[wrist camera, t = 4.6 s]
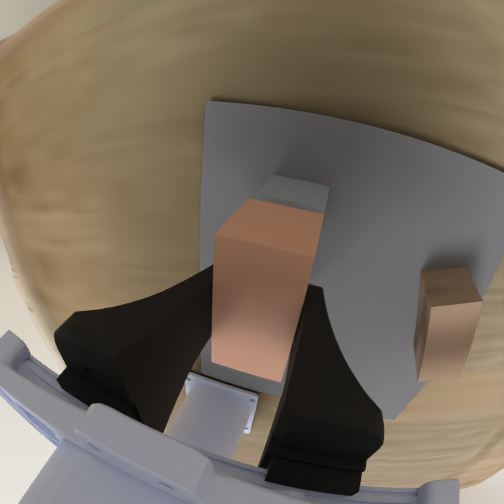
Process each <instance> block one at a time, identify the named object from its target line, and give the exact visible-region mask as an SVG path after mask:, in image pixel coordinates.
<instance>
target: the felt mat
mask: <svg viewBox="0 0 504 504" xmlns="http://www.w3.org/2000/svg"><path fill="white" fill-rule="evenodd" d="M273 175H278V176H283V177H288V178H293V179H298V180H303V181H307V182H312V183H317V184H321V185H326V186H330V188H329V193H328V198H327V203H326V208H325V213H324V218H323V223H322V227H321V232H320V237H319V241H318V246H317V250H316V255H315V259H314V263H313V267H312V271H311V275H310V279H309V283H308V284H312V285H316V286H320V287H322V288H323V290H324V298H325V303H326V308H327V312H328V316H329V319H330V323H331V326H332V329H333V332H334V335H335V337H336V340H337V342H338V345H339V347H340V349H341V352H342V354H343V356H344V358H345V360H346V362H347V364H348V365H349V367H350V369H351V371H352V372H353V374H354V375H355V377H356V379H357V380H358V382H359V383H360V385H361V386H362V388H363V389H364V390H365V392H366V393H367V394H368V396H369V397H370V398H371V399H372V400H373V401H374V402H375V404H376V405H377V406H378V407H379V408H380V409H381V411H382V415H383V418H387V419H395V418H396V417H397V416H398V415H399V414H400V413H401V412H402V411H403V410H404V408H405V407H406V406H407V405H408V404H409V403H410V402H411V400H412V399H413V398H414V397H415V396H416V394H417V393H418V392H419V391H420V389H421V388H422V387H423V386H424V385H425V383H426V382H427V381H424V382H418V381H417V371H416V363H415V355H414V347H413V342H414V335H415V327H416V319H417V309H418V299H419V286H420V271H428V270H439V269H449V268H460V267H465V268H466V269H467V271H468V273H469V275H470V277H471V279H472V281H473V283H474V284H475V286H476V288H477V290H478V292H479V294H480V296H481V299H482V297H483V295H484V293H485V291H486V289H487V288H488V286H489V284H490V282H491V280H492V278H493V276H494V274H495V272H496V270H497V267H498V265H499V263H500V261H501V259H502V257H503V254H504V172H502V171H500V170H497V169H495V168H493V167H491V166H489V165H486V164H484V163H482V162H479V161H477V160H474V159H472V158H469V157H467V156H464V155H462V154H459V153H457V152H454V151H451V150H449V149H446V148H443V147H440V146H437V145H434V144H431V143H429V142H426V141H422V140H419V139H416V138H413V137H410V136H406V135H403V134H400V133H396V132H393V131H389V130H386V129H382V128H378V127H374V126H370V125H366V124H362V123H358V122H354V121H349V120H345V119H340V118H335V117H331V116H326V115H320V114H315V113H309V112H304V111H297V110H291V109H284V108H277V107H270V106H262V105H253V104H243V103H233V102H220V101H206V107H205V120H204V136H203V153H202V173H201V199H200V238H199V272H201V271H202V270H204V269H206V268H208V267H209V266H211V265H213V264H214V242H215V233H216V232H217V231H218V230H219V229H220V228H221V227H222V226H223V225H224V224H225V223H226V222H227V221H228V220H229V218H230V217H231V216H232V215H233V214H234V213H235V212H236V211H237V210H238V209H239V208H240V207H241V206H242V205H243V204H244V203H245V202H246V201H247V200H248V199H254V200H255V195H256V193H257V192H258V191H259V189H260V188H261V187H262V186H263V185H264V184H265V183H266V182H267V181H268V180H269V179H270V178H271V177H272V176H273ZM290 351H291V349H290ZM211 352H212V335H211V337H210V339H209V340H208V342H207V343H206V345H205V346H204V348H203V350H202V351H201V353H200V356H201V373H202V374H205V375H208V376H210V377H213V378H216V379H219V380H222V381H225V382H229V383H232V384H235V385H238V386H241V387H245V388H248V389H251V390H255V391H258V392H262V393H265V394H269V395H273V396H276V397H280V398H281V396H282V392H283V388H284V384H285V379H286V373H287V368H288V362H289V356H290V353H289V356H288V360H287V363H286V366H285V370H284V373H283V376H282V379H281V382H277V381H273V380H270V379H266V378H262V377H259V376H255V375H252V374H249V373H245V372H242V371H239V370H235V369H232V368H229V367H226V366H223V365H220V364H217V363H214V362H211Z"/></svg>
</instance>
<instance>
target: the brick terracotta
mask: <svg viewBox="0 0 504 504" xmlns="http://www.w3.org/2000/svg"><path fill="white" fill-rule="evenodd" d="M323 218H324V214H319V213H315V212H311V211H306V210H302V209H297V208H293V207H288V206H283V205H279V204H274V203H269V202H264V201H259V200H254V199H248V200H247V201H246V202H245V203H244V204H243V205H242V206H241V207H240V208H239V209H238V210H237V211H236V212H235V213H234V214H233V215H232V216H231V217H230V218H229V220H228V221H227V222H226V223H225V224H224V225H223V226H222V227H221V228H220V229H219V230H218V231H217V232H216V233H215V242H214V266H213V298H212V352H211V362H214V363H217V364H220V365H223V366H226V367H229V368H232V369H235V370H239V371H242V372H245V373H249V374H252V375H255V376H259V377H262V378H266V379H270V380H273V381H277V382H281V379H282V376H283V373H284V370H285V366H286V363H287V360H288V356H289V353H290V349H291V346H292V342H293V339H294V335H295V332H296V328H297V325H298V321H299V317H300V314H301V310H302V306H303V303H304V299H305V295H306V291H307V287H308V283H309V279H310V275H311V271H312V267H313V263H314V259H315V255H316V250H317V246H318V241H319V237H320V232H321V227H322V223H323Z"/></svg>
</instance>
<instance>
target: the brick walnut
mask: <svg viewBox="0 0 504 504" xmlns="http://www.w3.org/2000/svg"><path fill="white" fill-rule="evenodd" d="M482 302H483V301H482V299H481V296H480V294H479V292H478V290H477V288H476V286H475V284H474V283H473V281H472V279H471V277H470V275H469V273H468V271H467V269H466V268H465V267H460V268H449V269H439V270H428V271H420V286H419V299H418V309H417V319H416V327H415V335H414V342H413V347H414V355H415V363H416V371H417V381H418V382H424V381H434V380H442V379H449V378H457V377H461V374H462V371H463V369H464V366H465V363H466V360H467V357H468V354H469V351H470V347H471V344H472V341H473V337H474V334H475V330H476V327H477V323H478V319H479V315H480V311H481V307H482Z"/></svg>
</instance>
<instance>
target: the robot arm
mask: <svg viewBox="0 0 504 504" xmlns="http://www.w3.org/2000/svg"><path fill="white" fill-rule="evenodd" d="M213 266H214V264H213V265H211V266H209V267H208V268H206V269H204V270H202V271H201V272H199V273H197V274H196V275H194V276H192V277H190V278H188V279H187V280H185V281H183V282H181V283H179V284H177V285H175V286H173V287H171V288H169V289H167V290H165V291H162V292H160V293H157V294H155V295H152V296H150V297H147V298H144V299H141V300H138V301H134V302H131V303H127V304H124V305H119V306H115V307H110V308H104V309H98V310H89V311H79V312H75V313H73V314H72V315H71V316H70V317H69V318H68V319H67V320H66V321H65V322H64V323H63V324H62V325H61V326H60V327H59V328H58V329H57V330H56V331H55V333H54V338H55V343H56V346H57V348H58V350H59V352H60V354H61V356H62V358H63V360H64V362H65V364H66V366H67V367H66V369H65V370H64V371H63V372H62V373H61V374H60V375H58V374H56V373H55V372H53V371H52V370H50V369H49V368H48V367H46V366H45V365H44V364H42V363H41V362H40V361H38V360H37V359H36V358H34V357H33V356H31V354H30V352H29V349H28V348H27V346H26V345H25V343H24V342H23V341H22V340H21V339H20V338H19V337H17V336H16V335H15V334H14V333H13V332H11V331H10V330H8V331H7V332H6V333H5V334H4V335H3V336H2V337H1V338H0V395H1V396H2V397H3V398H4V399H5V400H6V401H7V402H8V403H9V404H10V405H11V406H12V407H13V408H14V409H15V410H16V411H17V412H18V413H19V414H20V415H21V416H22V417H23V418H25V420H27V421H28V422H29V423H30V424H31V425H32V426H33V427H34V428H36V430H38V431H39V432H40V433H41V434H42V435H43V436H45V437H46V438H47V439H48V440H49V441H51V442H52V443H53V444H54V445H55V446H57V449H56V450H55V451H54V453H53V455H52V456H51V457H50V458H49V460H48V461H47V463H46V464H45V466H44V467H43V468H42V470H41V471H40V473H39V474H38V476H37V477H36V479H35V480H34V481H33V483H32V484H31V486H30V487H29V489H28V490H27V492H26V493H25V495H24V496H23V498H22V499H21V500H20V502H19V504H459V480H458V479H452V480H436V481H430V482H427V483H425V484H423V485H422V486H420V487H419V488H384V487H368V486H360V482H361V476H362V472H364V471H365V469H366V461H367V459H368V458H369V457H371V456H372V455H373V454H374V453H375V452H376V451H377V450H379V449H380V447H381V446H382V445H383V441H384V422H383V415H382V411H381V409H380V408H379V407H378V406H377V405H376V404H375V402H374V401H373V400H372V399H371V398H370V397H369V396H368V394H367V393H366V392H365V390H364V389H363V388H362V386H361V385H360V383H359V382H358V380H357V379H356V377H355V375H354V374H353V372H352V371H351V369H350V367H349V365H348V364H347V362H346V360H345V358H344V356H343V354H342V352H341V349H340V347H339V345H338V342H337V340H336V337H335V335H334V332H333V329H332V326H331V323H330V319H329V316H328V312H327V308H326V303H325V298H324V290H323V288H322V287H320V286H316V285H312V284H308V287H307V291H306V295H305V299H304V303H303V306H302V310H301V314H300V317H299V321H298V325H297V328H296V332H295V335H294V339H293V342H292V346H291V351H290V356H289V362H288V368H287V373H286V379H285V384H284V388H283V392H282V396H281V399H280V402H279V405H278V408H277V412H276V415H275V418H274V421H273V424H272V427H271V430H270V433H269V436H268V439H267V442H266V445H265V448H264V451H263V454H262V456H261V459H260V462H259V465H258V467H255V466H252V465H248V464H245V463H242V462H238V461H235V460H233V458H234V455H235V453H236V450H237V448H238V445H239V443H240V440H241V437H242V435H243V432H244V433H250V431H251V427H252V423H253V419H254V415H255V411H256V406H257V402H258V398H259V396H258V394H256V393H253V392H250V391H247V390H243V389H240V388H237V387H234V386H230V385H227V384H224V383H221V382H218V381H215V380H212V379H209V378H207V377H204V376H201V375H198V374H195V373H193V372H190V371H191V368H192V366H193V364H194V363H195V361H196V359H197V357H198V356H199V354H200V353H201V351H202V350H203V348H204V346H205V345H206V343H207V342H208V340H209V339H210V337H211V335H212V298H213ZM184 383H185V386H186V394H187V396H186V397H185V399H184V401H183V403H182V405H181V406H180V408H179V410H178V412H177V413H176V415H175V417H174V419H173V421H172V422H171V424H170V426H169V428H168V429H167V431H166V433H165V434H163V432H164V430H165V427H166V425H167V422H168V420H169V417H170V415H171V412H172V410H173V408H174V405H175V403H176V401H177V398H178V396H179V394H180V392H181V390H182V387H183V385H184Z"/></svg>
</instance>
